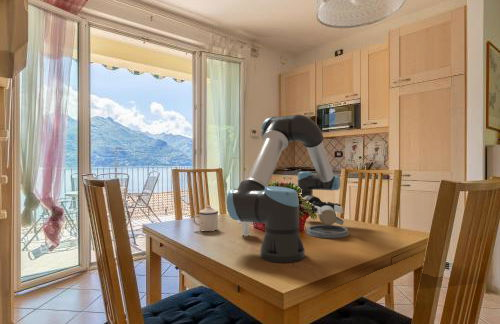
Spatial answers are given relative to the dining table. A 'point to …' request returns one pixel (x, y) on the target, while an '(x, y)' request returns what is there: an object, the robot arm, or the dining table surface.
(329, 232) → the saucer
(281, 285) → the dining table surface
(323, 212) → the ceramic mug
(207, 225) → the teacup with lid
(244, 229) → the strainer
